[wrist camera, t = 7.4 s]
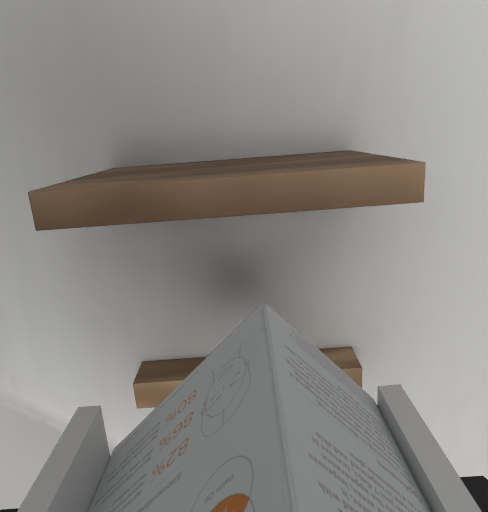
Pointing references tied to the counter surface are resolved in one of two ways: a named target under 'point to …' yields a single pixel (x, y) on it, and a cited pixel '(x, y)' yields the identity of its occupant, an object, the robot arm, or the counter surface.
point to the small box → (261, 437)
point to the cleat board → (226, 211)
